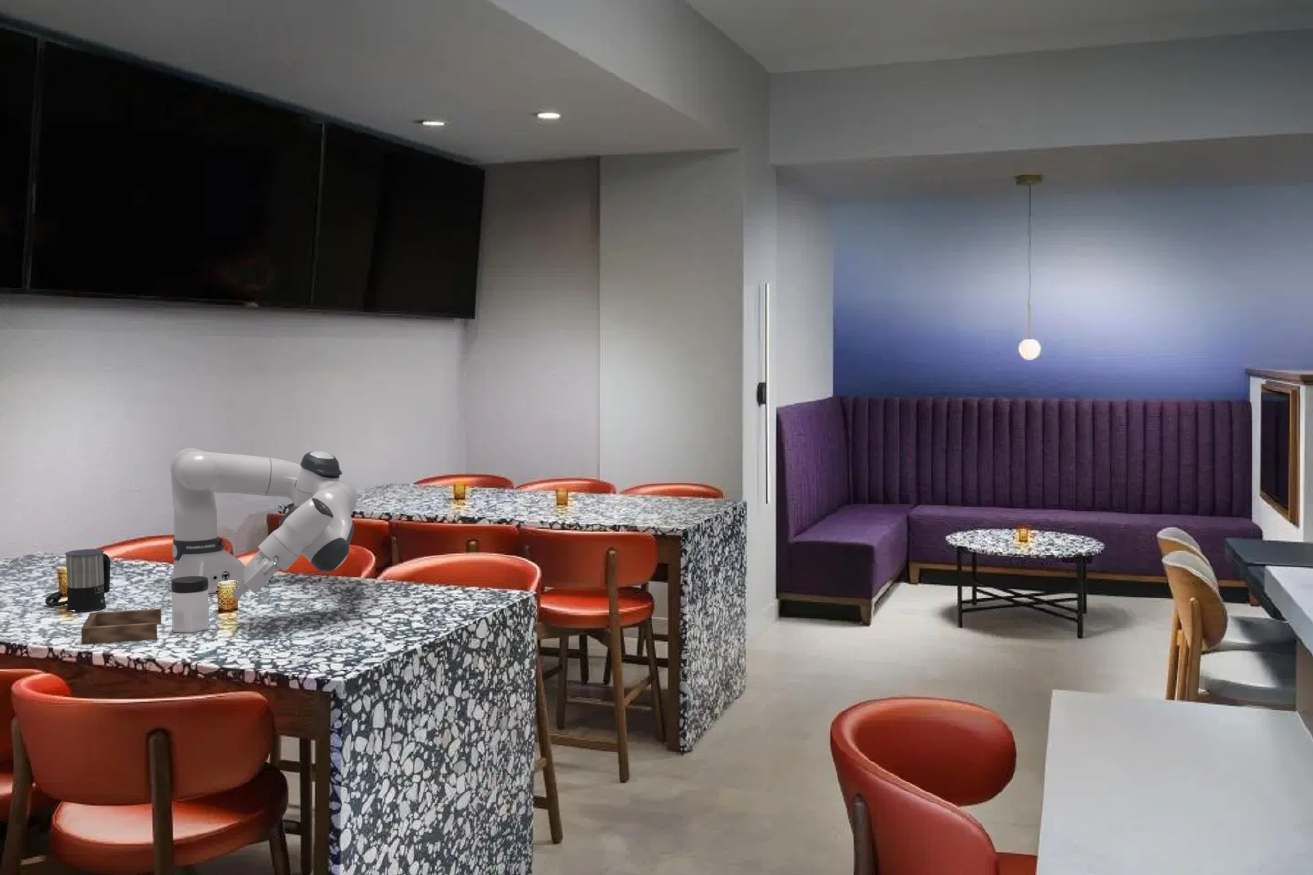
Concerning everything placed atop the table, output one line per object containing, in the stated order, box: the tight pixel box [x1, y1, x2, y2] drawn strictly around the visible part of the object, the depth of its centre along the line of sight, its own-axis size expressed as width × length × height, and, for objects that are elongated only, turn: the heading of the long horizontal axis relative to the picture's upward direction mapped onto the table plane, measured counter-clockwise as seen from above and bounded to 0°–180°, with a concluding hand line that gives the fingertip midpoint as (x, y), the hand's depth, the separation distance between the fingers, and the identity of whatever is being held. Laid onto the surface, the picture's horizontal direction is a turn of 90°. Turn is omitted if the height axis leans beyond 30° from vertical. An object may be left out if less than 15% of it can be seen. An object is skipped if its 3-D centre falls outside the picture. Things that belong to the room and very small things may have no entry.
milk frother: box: [44, 548, 111, 612], centre depth 294 cm, size 14×16×15 cm
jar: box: [170, 576, 210, 634], centre depth 272 cm, size 9×8×12 cm
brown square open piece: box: [80, 608, 162, 645], centre depth 268 cm, size 16×17×4 cm
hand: (234, 596), depth 275 cm, fingers closed
